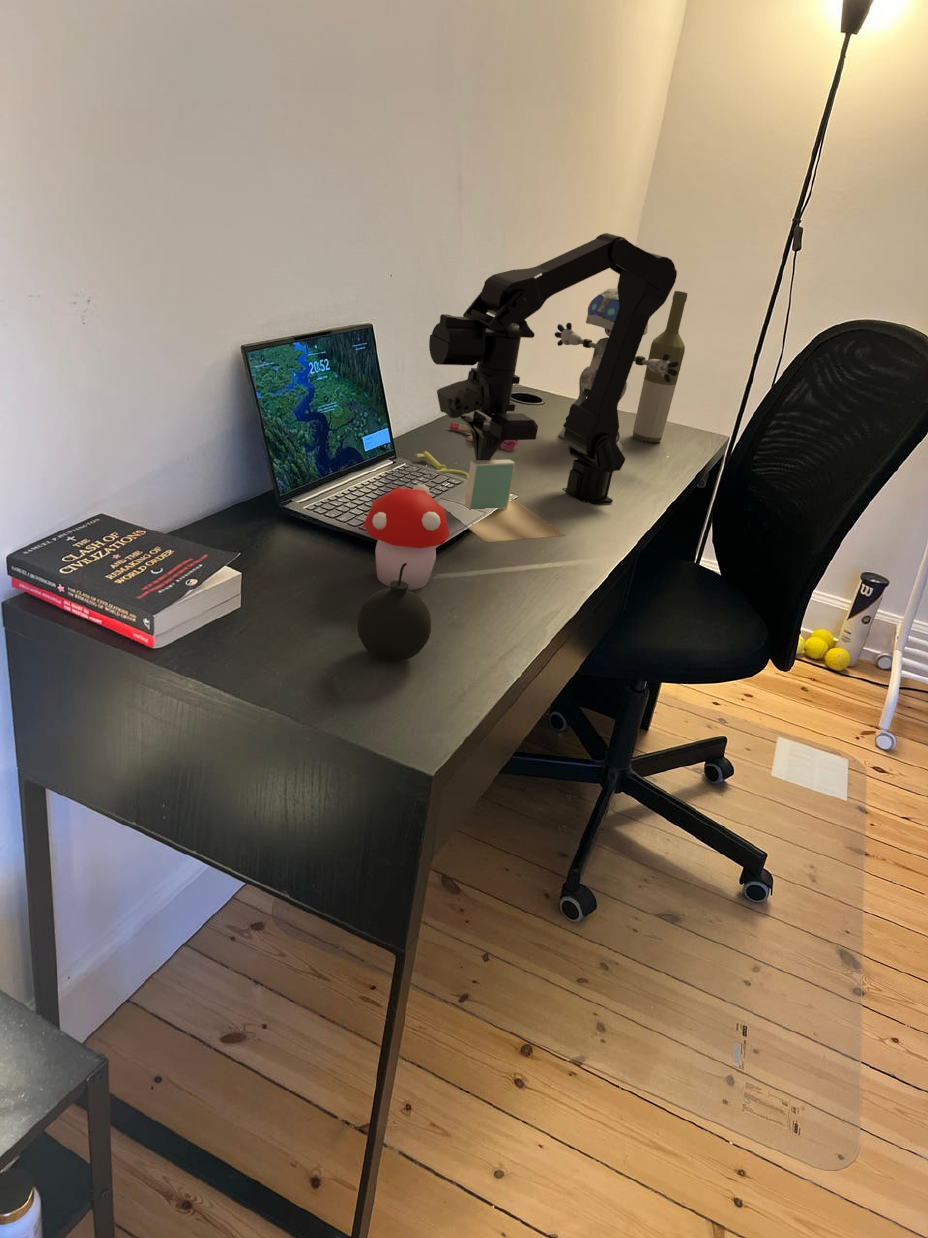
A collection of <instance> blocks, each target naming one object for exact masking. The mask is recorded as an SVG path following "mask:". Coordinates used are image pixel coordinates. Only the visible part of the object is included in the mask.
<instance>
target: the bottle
mask: <svg viewBox="0 0 928 1238" xmlns="http://www.w3.org/2000/svg"><path fill="white" fill-rule="evenodd" d="M687 300H688V293H687V292H685V291H680V290H674V293H673V295H672V302H671V306H670V309H669V314H668V319H667V321H666V322H667V324H666V327H665V330H664V331H663V332H661V333H660V334H659V335H657V337H655V338H654V339H653V340H652V342H651V344H650V349H649V354H648V359H647V360H651V359H659V360H660V359H662V358H663V356H664V354H665V353H668V354H669V355H670V358H669V359H668V361H669V362H673V361H678V363H679V364H678V366H677V367H673V368H671V369H674V370H677V371H678V374H677V375H676V376H672V375H670V374H669V376H670V378H671V381H670V382H666V381H665V378H664V377H661V376H658V375H657V373H655V372H653V371H651V370H650V369H649V368H648V367H647V366H646V368H645V373H644V377H643V381H642V382H643V383H642V388H641V390H640V391H641V392H640V397H639V401H638V406H637V411H636V414H635V421H634V425H633V430H632V436H633V437H634V438H636V439H637V440H639V441H641V440H643V441H642V442H645V441H647V442H646V443H657V442H661V441H662V438H663V435H664V431H665V428H666V425H667V424H666V423H667V420H668V418H669V417H668V416H669V413H670V409H671V404H672V401H673V398H674V394H675V391H676V390H675V389H676V386H677V382H678V380H679V379H678V378H679V375H680V370H681V367H682V364H683V363H682V362H683V359H684V356H685V352H686V350H685V349H686V347H685V342H684V341H683V339H682V337H681V335H680V332H679V329H680V326H681V323H682V317H683V314H684V309H685V305H686V302H687Z"/></svg>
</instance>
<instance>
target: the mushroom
mask: <svg viewBox="0 0 928 1238" xmlns="http://www.w3.org/2000/svg"><path fill="white" fill-rule="evenodd" d="M436 501H437V500H435V499H434V498H433V497H432V496H431V492H430V488H429V487H428V486H427V485H426V484H424V483H418V484H416V485H414V486H413V487H412V488H405V487H404V488H403V487H396V488H394V489H392V490H391V491H389V492H387V493H386V494H384V495H382V496H380V497H378V498H377V499H375V500H373V503H372V505H371V507H370V508H369V512H368V513H367V516H366V518H365V521H364V522H363V528H364V529H365V531H366V532H367V533H368V535H369V536H370V537H371V538H374V539H377V542H376V544H375V545H376V546H375V565H376V567H375V568H376V579H378V580H379V582H380V583H382V584H383V585H385V586H387V587H390V583H391V582H392V581H399V574H400V570H401V567H402V565H403V564H404V563H407V565H406V566H405V567H404V569H403V573H402V578H401V581H403V582H406V583H408V585H409V587H408V589H407V590H408V591H410V590H418V589H421V588H424V587H425V586H427V585H428V583H429V581H430V578H431V575H432V571H433V568H434V566H435V562H436V559H437V553H436V552H437V551H436V546H441V545H444V544H445V543H446V541H447V540H448V538H449V537H450V536H451V533H450V530H449V523H448V521H447V515H446V510H444V508H443V507H442V506H441V505H439V504H438V503H437V502H436Z"/></svg>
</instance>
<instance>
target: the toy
mask: <svg viewBox="0 0 928 1238" xmlns="http://www.w3.org/2000/svg"><path fill="white" fill-rule="evenodd" d="M449 429H450V430H451V431H453V432H459V433H467V434H471V435H468V436H467V437H466V439H467V441H468V442H471V443H473V438H472V433H471V430H470V428H469V427H468V426H467V424H458V423H455V422H451V423H450V426H449ZM520 441H521V440H504V441H503V443H502V444H501V445H500V446H499V448H501V449H502V450H503V451H507V452H511V451H513V450H515V448H516V447H518V446H519V443H520Z"/></svg>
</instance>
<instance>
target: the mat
mask: <svg viewBox="0 0 928 1238" xmlns="http://www.w3.org/2000/svg"><path fill="white" fill-rule="evenodd" d="M511 498H512V499H511V501H509V502H508V507H507V509H498V510H497V511H495V512H493V513H492V514H490V515H489V516H487V517H485V518H484V519H482V520H480V521H479V522H477V523H475V524H472V526H471V527H469V528H468V530H470V531H471V532H472V533H474V534H475V535H476V536H478V537H479V538H480V539H481V540H482V541H483V542H485V543H494V542H496V543H497V542H506V541H507V542H509V541H517V540H530V539H542V538H553V537H565V536H567V535H566V534H565V533H563V532H562V531H561V530H559V529H558V528H556V527H555V526H553V525H552V524H550V523H549V522H548V521H546V520H544V518H541V516H539V515H537V513H536V514H535V513H534V512H533V511H532V510H530V509H528V508H527V507H526V506H524V505H522V504H521V503H520V502H518V501H517V500H516V499H515V498H513V497H511Z"/></svg>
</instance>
